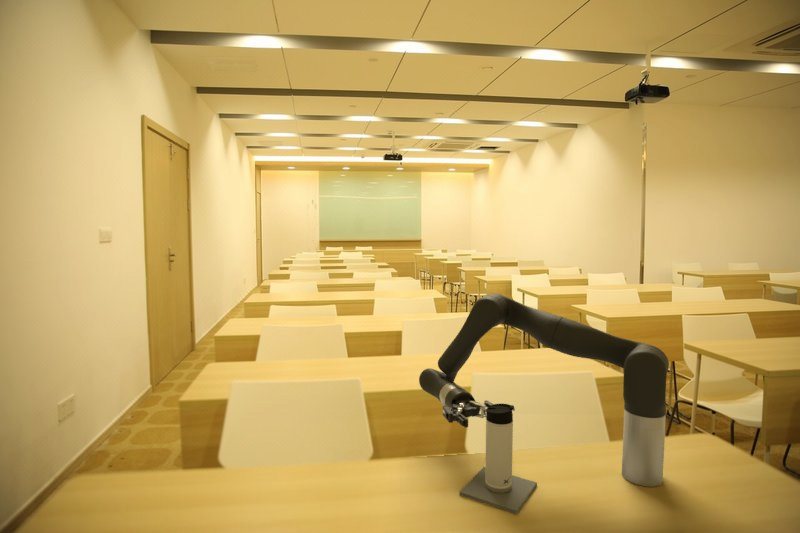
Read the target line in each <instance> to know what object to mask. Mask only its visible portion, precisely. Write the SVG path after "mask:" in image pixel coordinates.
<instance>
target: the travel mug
mask: <svg viewBox="0 0 800 533" xmlns="http://www.w3.org/2000/svg"><path fill="white" fill-rule="evenodd" d="M492 404H493V405H490V406H488V407H487V409H486V417H485V466H484V467H485V478H486V479H485V486H486V487H487V488H488V489H489V490H490V491H492V492H496V493H506V492H508V491H510V490H511V488H512V475H513V437H514V436H513V435H514V434H513V432H514V430H513V429H514V428H513V427H514V420H513V417H514V416H513V415H514V414H513V412H515V406H514V405H513V404H509V403H492Z"/></svg>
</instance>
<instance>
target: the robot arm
mask: <svg viewBox="0 0 800 533" xmlns="http://www.w3.org/2000/svg"><path fill="white" fill-rule="evenodd" d="M499 325H505V326H507V327H508V326H509V327H512V328H515V329H518V330H521V331H522V332H525V333H527V334H528V335H529V336H530V337H532V338H533V339H534V340H535V341H537V342H539V343H540V345H541V344H542V345H543V346H545V347H546V348H548V349H551V350H554V351H556V352H559V353H562V354H564V355H568V356H571V357H575V358H582V359H588V360H589V359H590V360H594V361H595V360H596V361H602V362H606V363H609V364H612V365H614V366H617V367H619V368H622V369H623V381H622V382H623V383H622V384H623V388H622V389H623V390H622V391H623V393H622V395H623V397H622V398H623V406H624V407H623V429H622V430H623V431H622V433H623V434H622V435H623V436H622V456H621V457H622V458H621V459H622V460H621V475H622V477H623V478H624V479H626V480H627V481H628V482H630V483H633V484H635V485H638V486H643V487H648V488H649V487H651V488H653V487H658V486H661V485H662V484H663V483H664V482H663V481H664V480H663V479H664V464H665V463H664V458H665V439H666V438H665V435H666V416H667V415H666V414H667V413H666V412H667V403H666V402H667V401H666V396H667V395H666V394H667V377H668V376H667V374H668V371H669V368H670V366H669V364H670V362H669V358H668V357H667V354H666V353H665V352H664V351H663V350H662V349H661V348H659V347H657V346H655V345H653V344H649V343H645V342H641V341H640V342H639V341H634V340H631V339H626V338H623V337H619V336H615V335H612V334H609V333H607V332H605V331H602V330H599V329H598V328H595V327H593V326H589V325H587V324H584V323H581V322H578V321H576V320H572V319H571V318H570V319H569V318H567V317H564V316H561V315H558V314H553V313H551V312H548V311H544V310H542V309H538V308H533V307H531V306H528V305H525V304H523V303H521V302H518V301H516V300H514V299H513V298H510V297H508V296H506V295H503V294H501V293H496V292H493V293H489V294H486V295H484V296H481V297H479V298H478V299H477V300H476V301H475V302H474V303H473V305H472V307H471V309H470V311H469V313H468V316H467V318H466V319H465V322H464V324H463V325H462V327H461V328H460V330H459V331H458V333H457V335H456V336H455V338H454V339H453V340H452V341H451V342H450V344H449V345H448V346H447V348H446V349H445V351H444V352H443V353H442V354H441V356H440V357H439V359H438V360H437V367H438V368H439V370H440V371H439V370H437V369H434V368H425V369H424V370H423V371H421V372H420V374H419V378H418V383H419V386H420V388H421V389H422V390H423V391H424V392H426V393H427V394H428V395H431V396H433V397H434V398H436V399H438V401H439V402H440V403H441V404H442V416H443V417H444V418H445V420H446V421H447V422H448V423H454V422H455V423H457V424H459V425H460V426H462V427H464V428H468V427H469V418H471V417H472V418H474V417H476V418H480V419H484V418H486V409H487V407H488V406H490V405H493V404H494V403H492V402H491V401H489V400H484V402H483V403H480V402H477V401H476V400H475V398H474V396H473V395H472V394H471V393H470V392H468V391H467V390H466V389H465V388H463V387H462V386H461V385H459V384H458V383H456V382H455V380H456V377H457V375H458V373H459V372H460V370H461V369H462V367H463V366H464V365H465V364H466V362H467V361H468V359H469V358H470V357H471V355H472V353H473V351H474V348H475V347H476V345H477V343H478V342H479V341H480V340H481V339H482V338H483V337H484V336H485V335H486V334H487V333H488V332H489V331H490V330H491V329H493V328H495V327H498V326H499ZM480 412H481V413H480Z"/></svg>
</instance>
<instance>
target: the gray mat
mask: <svg viewBox="0 0 800 533" xmlns="http://www.w3.org/2000/svg"><path fill="white" fill-rule="evenodd" d="M485 479H486V478H485V466H483V467H482V468H481V469H480V470H479V471H478V472H477V473H476V474H475V475H474V476H473V477H472V478H471V479H470V480H469V481H468V482H467V484H465V485H464V487H463V488H462V489H460V491H459V494H458V495H459V496H461V497H464V498H468V499H471V500H473V501H476V502H479V503H483V504H484V505H488V506H491V507H493V508H497V509H500V510H502V511H506V512H508V513H509V512H510V513H511V514H515V515H518V514H519V512H520V510H521V509H522V507H523V506H524V504H525V503H526V502H527V500H528V499H529V498H530V496H531V494H532V493H533V492H534V490H535V489H536V487H537V486H538V485H537V484H538V482H536V481H534V480H530V479H526V478H524V477H520V476H516V475H513V474H512V488H511V490H510V491H508V492H506V493H496V492H492V491H490V490H489V489H488V488H487V487H486V486H485Z"/></svg>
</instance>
